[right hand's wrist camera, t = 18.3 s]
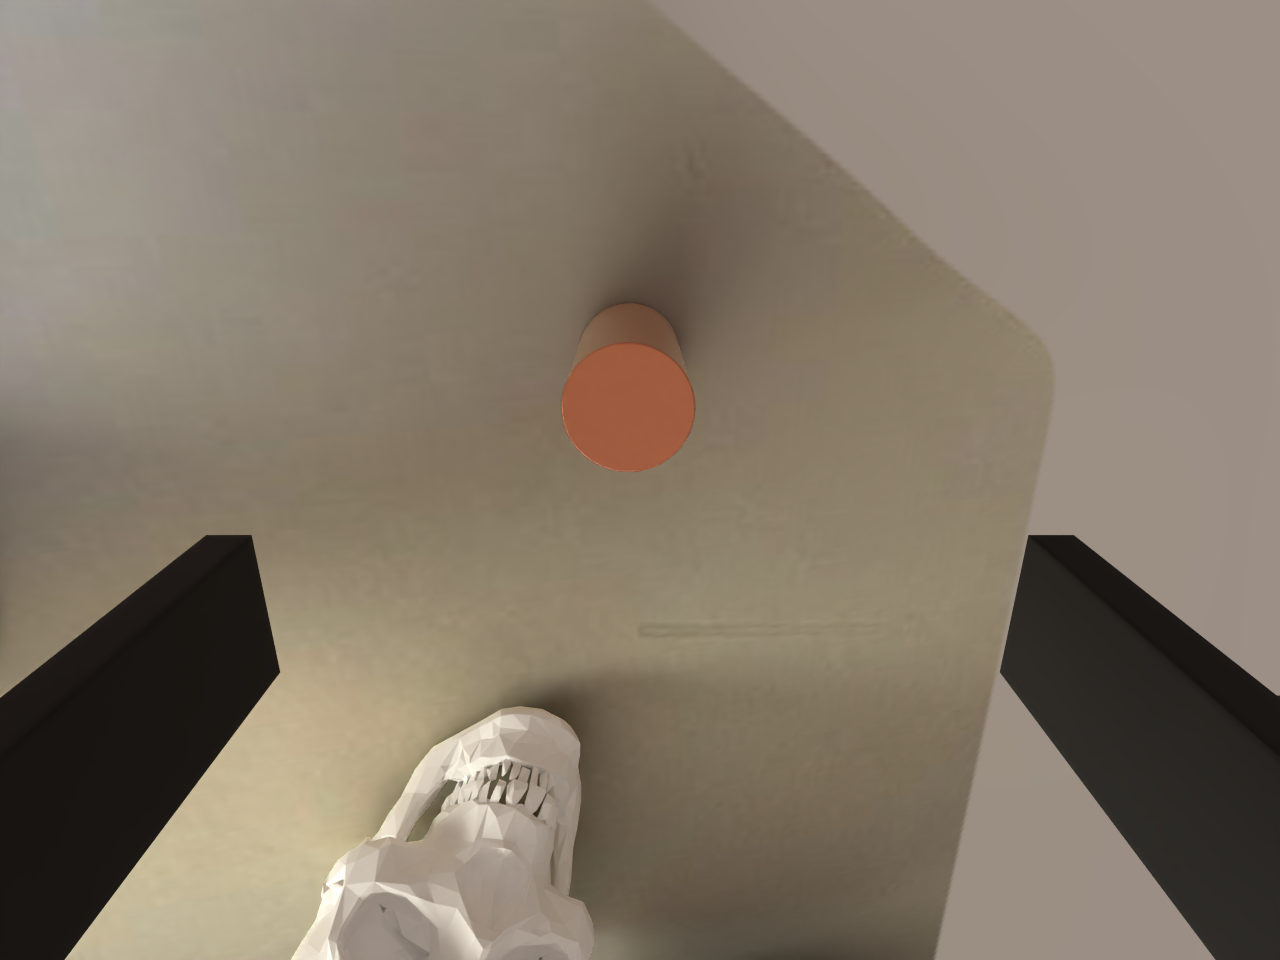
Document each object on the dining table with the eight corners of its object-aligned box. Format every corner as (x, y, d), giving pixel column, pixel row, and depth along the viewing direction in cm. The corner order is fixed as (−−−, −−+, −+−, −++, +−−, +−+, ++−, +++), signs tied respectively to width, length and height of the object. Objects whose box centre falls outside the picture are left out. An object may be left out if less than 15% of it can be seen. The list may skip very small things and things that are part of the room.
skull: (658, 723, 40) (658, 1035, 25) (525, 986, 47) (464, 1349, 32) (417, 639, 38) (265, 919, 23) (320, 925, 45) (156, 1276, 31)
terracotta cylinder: (678, 402, 33) (693, 472, 25) (580, 402, 33) (563, 473, 25) (680, 302, 32) (697, 342, 24) (577, 302, 32) (558, 342, 23)
